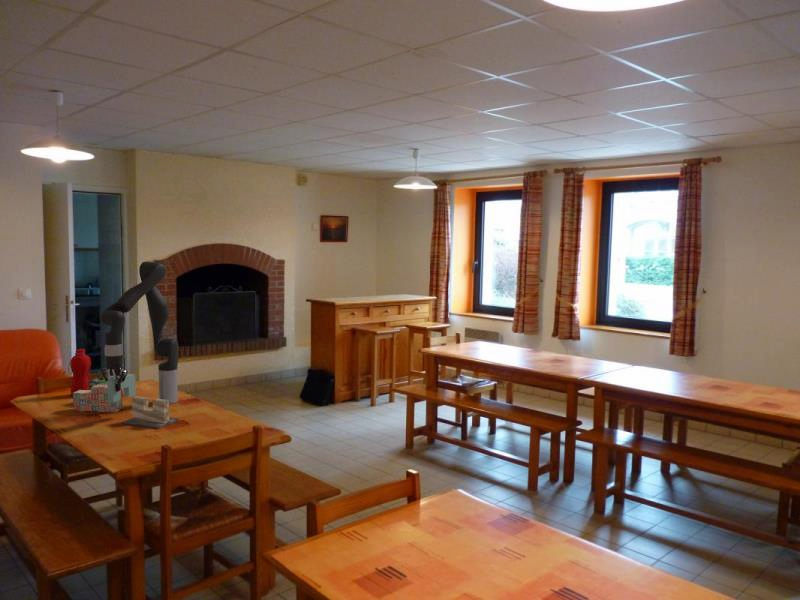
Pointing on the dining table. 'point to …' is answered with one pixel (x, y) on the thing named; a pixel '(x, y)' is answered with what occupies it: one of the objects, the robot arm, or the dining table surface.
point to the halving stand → (150, 413)
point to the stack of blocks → (95, 400)
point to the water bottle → (80, 371)
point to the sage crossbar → (128, 387)
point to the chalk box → (97, 381)
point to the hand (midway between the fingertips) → (114, 390)
